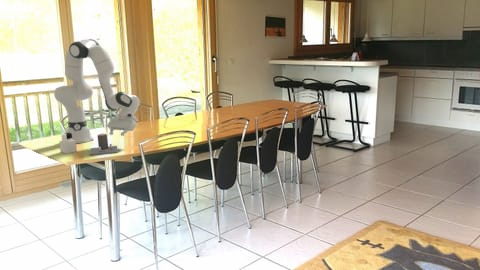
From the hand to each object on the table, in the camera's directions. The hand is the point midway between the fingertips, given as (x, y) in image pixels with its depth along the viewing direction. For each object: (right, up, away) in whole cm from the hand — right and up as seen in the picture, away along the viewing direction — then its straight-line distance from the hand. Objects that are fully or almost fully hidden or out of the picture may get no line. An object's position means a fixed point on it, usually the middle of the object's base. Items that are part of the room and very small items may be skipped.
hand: (116, 134), depth 274 cm
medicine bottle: (-28, -11, -7) cm, 30 cm away
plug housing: (-5, -9, -9) cm, 14 cm away
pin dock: (-5, -10, -9) cm, 14 cm away
